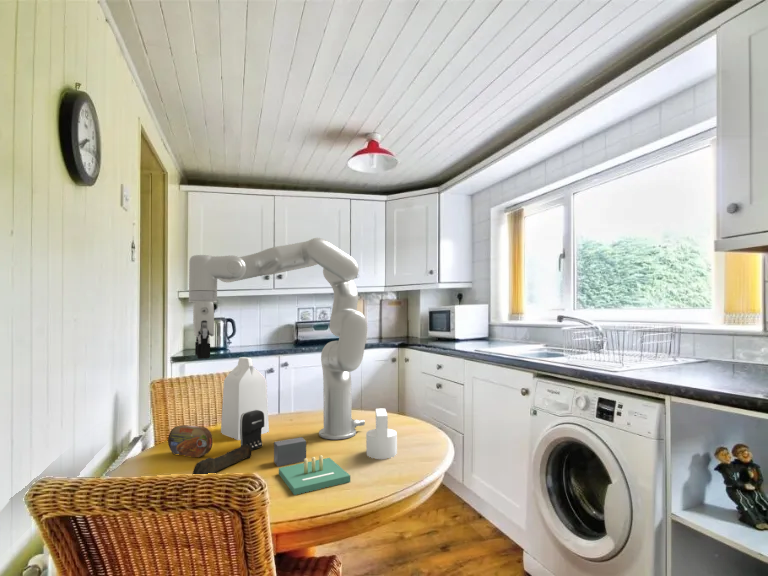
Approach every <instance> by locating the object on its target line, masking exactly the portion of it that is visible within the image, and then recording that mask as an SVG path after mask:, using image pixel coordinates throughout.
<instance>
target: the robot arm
mask: <svg viewBox="0 0 768 576" xmlns="http://www.w3.org/2000/svg"><path fill="white" fill-rule="evenodd" d="M316 265H319V267H321V268H323V269H322V273H323V277H324V279H325V280H326V281H327V282H328V283H329V285H330V286H331V288H332V291H333V302H332V308H331V313H330V319H329V330H330V332H331V333H332V335H334V336H336V337H339V338H338V340H332V341H329V342H327V343H326V344H325V345H324V347H323V348H322V350H321V353H320V360H321V361H320V362H321V368H322V377H323V378H322V380H323V387H322V388H323V392H322V393H323V428H321V429H320V430H319V431H318V435H319V437H320V438H322V439H325V440H334V441H335V440H345V439H349V438H352V437H354V436H355V435H357V429H356V428H357V427H362V426H365V419H359V420H358V419H353V417H352V377H351V372H354V371H356V370H357V369H359V367H360V366H361V364H362V362H363V357H364V353H365V347H366V342H367V335H368V322H367V318H366V317H365V315H364V313H362V312H361V311H359V310H358V302H359V301H358V300H359V293H358V287H357V285H356V282H355V281H354V280H355V279H356V278H357V277H358V275H359V271H360V270H359V269H360V267H359V265H358V262H357V261H356V259H355V258H354V257H352V256H351V255H350V254H349V253H346V252H345V251H343V250H342V249H340V248H339V247H337V246H335V245H334V244H333V243H331V242H329V241H327V240H326V239H324V238H320V237H314V238H311V239H309V240H306V241H301V242H295V243H291V244H285V245H279V246H272V247H269V248H266V249H263V250H261V251H259V252H255V253H251V254H248V255H243V256H242V255H241V256H238V255H221V256H219V255H216V256H214V255H210V254H209V255H206V254H196V255H192V256H191V257H190V258H189V267H188V268H189V271H188V303H190V304H191V303H192V305H193V307H192V309H193V312H192V315H193V317H192V319H193V320H192V322H193V323H192V324H193V333H194V336H195V344H194V346H195V347H194V349H195V350H194V355H195V356H196V357H197V359H200V360H203V359H210V358H211V344H210V337H214V336H215V307H214V306H215V305H214V304H215V303H218V280H219V281H220V282H223V283H233V282H238V281H242V280H243V281H244V280H248V279H252V278H257V277H262V276H270V275H271V276H272V275H276V274H281V273H285V272H289V271H290V272H291V271H294V270H299V269H305V268H309V267H315V266H316Z"/></svg>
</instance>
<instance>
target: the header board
mask: <svg viewBox="0 0 768 576" xmlns="http://www.w3.org/2000/svg"><path fill="white" fill-rule="evenodd" d="M278 475H279V476H280V478H281V479H282V481H283V482H284V483H285V485H287V487H288V488H289V490H290V492H291V493H292V494H293V496H297V494H298V495H301V493H302V494H305V492H306V493H310V492H313V490H314V491H318V490H322V489H321V488H323V489H326V488H325V487H327V488H330V487H329V486H331V487H335V486H339V485H342V484H347V483H351V474H349V473H348V472H347V471H345V469H343V468H342V467H341V466H340V465H339V464H337V463H336V462H335V461H334V460H333V459H332V458H330V457H327V458H324V456H323V455H322V454H321V455H319V457H318V459H316V457H315V456H312V457H311V460H310V461H309V460H308V458H307V457H306V458H305V459H304V462H300V463H295V464H290V465H285V466H280V467H278ZM338 484H339V485H338ZM334 485H335V486H334ZM317 489H318V490H317ZM309 491H310V492H309Z"/></svg>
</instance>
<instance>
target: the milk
mask: <svg viewBox="0 0 768 576" xmlns="http://www.w3.org/2000/svg"><path fill="white" fill-rule="evenodd" d="M267 384H268V383H267V378H266V377H265V376H264V374H262V373H261V372H260V371H259V370H258V369H257V368H256V367H254V364H253V359H252V357H247V356H242V357H241V356H240V357H239V358H238V362H237V365H236V366H235V367H234V368H233V369H232V370H231V371H230V372H229V373H228V374H227V375H226V377H224V379H223V389H222V390H223V391H222V405H221V406H222V409H221V422H220V423H221V425H220V427H221V428H220V434H221V433H222V434H221V435H224V436H226V437H229V438H230V439H231V438H232V439H233V438H234V439H233V440H236V441H241V438H240V419H241V415H242V414H243V413H245V412H248V411H252V410H259V411H262V412H263V413H264V427H262V429H261V435H263V434H268V433H270V428H269V426H270V423H269V406H268V404H269V403H268V389H267V387H268V385H267ZM267 432H268V433H267Z"/></svg>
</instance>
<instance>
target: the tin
mask: <svg viewBox="0 0 768 576" xmlns="http://www.w3.org/2000/svg"><path fill="white" fill-rule="evenodd" d="M167 445H168V448H169V450H170V451H171V453H172V454H173V455H175V454H179V455H185V456H184V457H187V456H191V457H190V458H195V457H198V458H200V457H203V456H205V455H207V454H209V452H211V449H212V447H213V434H212V432H211V431H210V430H209V428H208V427H205V426H198V425H197V426H196V425H187V424H183V425H178V426H175V427H173V428H172V429H170V432H169V433H168V438H167ZM179 455H178V456H179Z"/></svg>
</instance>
